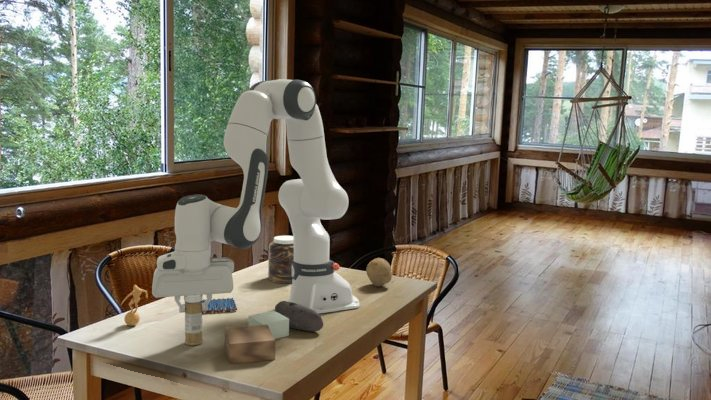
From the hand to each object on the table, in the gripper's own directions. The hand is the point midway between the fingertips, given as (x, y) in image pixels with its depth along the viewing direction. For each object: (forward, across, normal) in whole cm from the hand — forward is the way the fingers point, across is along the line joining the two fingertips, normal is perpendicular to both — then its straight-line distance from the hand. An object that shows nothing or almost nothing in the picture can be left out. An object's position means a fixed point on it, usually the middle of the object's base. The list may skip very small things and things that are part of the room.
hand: (193, 311), depth 163 cm
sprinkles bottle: (+9, 0, 0) cm, 9 cm away
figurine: (+9, +15, -16) cm, 24 cm away
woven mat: (+9, -9, -27) cm, 30 cm away
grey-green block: (+9, -20, -2) cm, 22 cm away
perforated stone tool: (+9, -29, -4) cm, 31 cm away
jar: (+9, -35, -54) cm, 65 cm away
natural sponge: (+9, -65, -39) cm, 76 cm away
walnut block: (+9, -13, +10) cm, 19 cm away
